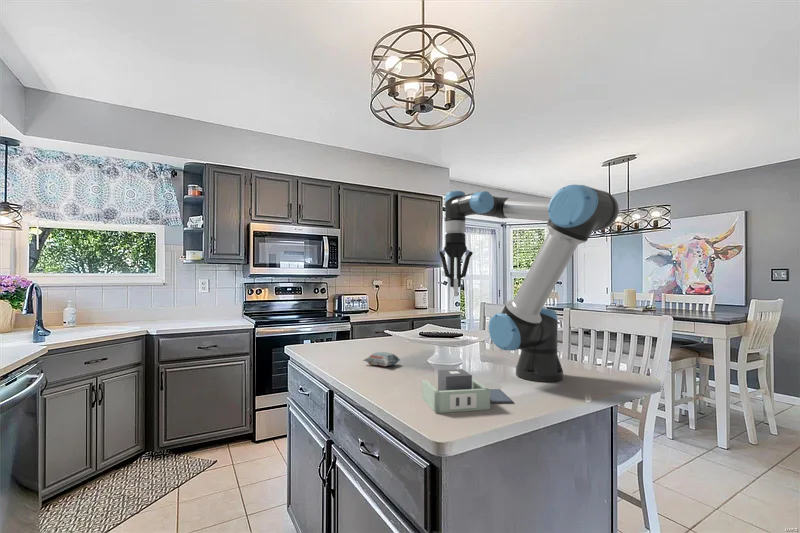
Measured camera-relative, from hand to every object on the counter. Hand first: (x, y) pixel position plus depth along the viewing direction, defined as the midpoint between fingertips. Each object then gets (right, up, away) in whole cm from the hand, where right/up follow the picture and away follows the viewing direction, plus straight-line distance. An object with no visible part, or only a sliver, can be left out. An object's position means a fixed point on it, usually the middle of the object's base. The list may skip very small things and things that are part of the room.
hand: (455, 296), depth 145 cm
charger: (-6, -25, -42) cm, 49 cm away
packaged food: (-28, -27, +2) cm, 39 cm away
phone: (+6, -26, -37) cm, 45 cm away
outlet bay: (-6, -25, -42) cm, 49 cm away
